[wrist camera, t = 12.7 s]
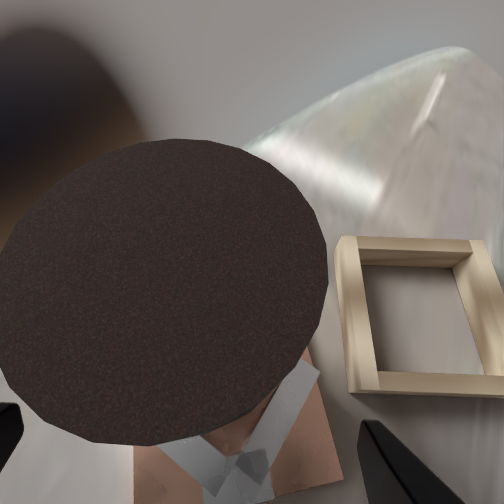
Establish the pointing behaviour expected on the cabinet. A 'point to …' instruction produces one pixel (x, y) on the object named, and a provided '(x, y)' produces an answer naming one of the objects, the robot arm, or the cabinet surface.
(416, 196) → the cabinet surface
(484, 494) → the cabinet surface
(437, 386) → the beige square frame
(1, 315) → the deodorant
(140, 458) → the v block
